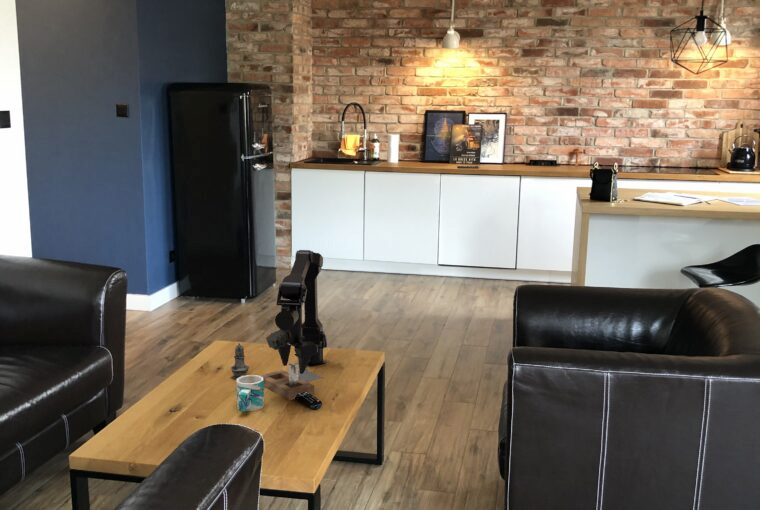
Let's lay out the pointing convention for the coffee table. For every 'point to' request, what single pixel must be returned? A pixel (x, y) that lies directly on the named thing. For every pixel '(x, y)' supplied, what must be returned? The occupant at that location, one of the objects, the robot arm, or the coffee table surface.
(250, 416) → the coffee table surface
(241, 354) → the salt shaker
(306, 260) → the robot arm
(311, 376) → the mat
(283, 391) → the socket block
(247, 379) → the mug
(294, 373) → the pin
